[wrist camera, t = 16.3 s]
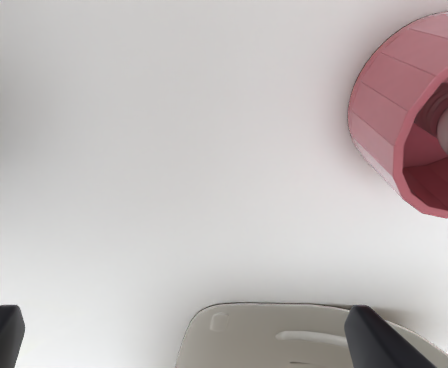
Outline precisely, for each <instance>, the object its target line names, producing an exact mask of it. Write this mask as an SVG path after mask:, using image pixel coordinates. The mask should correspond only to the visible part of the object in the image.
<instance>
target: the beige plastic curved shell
mask: <svg viewBox="0 0 448 368" xmlns="http://www.w3.org/2000/svg"><path fill="white" fill-rule="evenodd" d="M349 312H350V310H347V309H342V308H336V307H329V306H321V305H313V304H254V303H236V304H221V305H215V306H211V307H208V308H206V309H204V310H202V311H200V312H199V313H198V314H197V315H196V316H195V317H194V318H193V319H192V321H191V323H190V325H189V327H188V329H187V331H186V334H185V336H184V339H183V342H182V344H181V348H180V351H179V354H178V358H177V361H176V366H175V368H354V367H353V363H352V359H351V355H350V351H349V347H348V344H347V340H346V336H345V331H344V323H345V320H346V318H347V316H348V314H349ZM385 321H386V322H387V323H388V324H389V325H390V326H391V327H392V328H394V329H395V330H396V331H397V332H398V333H399V334H400V335H401V336H402V337H404V338H405V339H406V340H407V341H408V342H409V343H410V344H411V345H413V346H414V347H415V348H416V349H417V350H418V351H419V352H420V353H421V354H423V355H424V356H425V357H426V358H427V359H428V360H429V361H430V362H431V363H433V364H434V365H435V366H436V367H437V368H448V355H447V354H446V353H445V352H443V351H442V350H441V349H439V348H438V347H437V346H435V345H434V344H432V343H431V342H429V341H428V340H426V339H425V338H423V337H422V336H420V335H418V334H417V333H415V332H413V331H411V330H409V329H406V328H404V327H402V326H400V325H397V324H394V323H392V322H389V321H387V320H385Z"/></svg>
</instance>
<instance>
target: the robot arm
mask: <svg viewBox="0 0 448 368" xmlns="http://www.w3.org/2000/svg"><path fill="white" fill-rule="evenodd" d="M344 331H345V336H346V340H347V344H348V347H349V351H350V355H351V359H352V363H353V367H354V368H437V367H436V366H435V365H434V364H433V363H431V362H430V361H429V360H428V359H427V358H426V357H425V356H424V355H423V354H421V353H420V352H419V351H418V350H417V349H416V348H415V347H414V346H413V345H411V344H410V343H409V342H408V341H407V340H406V339H405V338H404V337H402V336H401V335H400V334H399V333H398V332H397V331H396V330H395V329H394V328H392V327H391V326H390V325H389V324H388V323H387V322H386V321H385V320H384V319H382V318H381V317H380V316H379V315H378V314H377V313H376V312H375V311H373V310H372V309H371V308H370V307H369V306H366V305H354V306H352V308H351V310H350V312H349V314H348V316H347V318H346V320H345V323H344ZM24 332H25V324H24V321H23V317H22V314H21V310H20V308H19V306H17V305H1V306H0V368H14V367H15V363H16V360H17V357H18V353H19V350H20V347H21V343H22V340H23V337H24Z"/></svg>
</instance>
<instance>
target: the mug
mask: <svg viewBox="0 0 448 368" xmlns="http://www.w3.org/2000/svg"><path fill="white" fill-rule="evenodd" d="M441 83H448V11H447V12H441V13H436V14H432V15H429V16H426V17H423V18H421V19H419V20H416V21H414V22H412V23H410V24H409V25H407V26H405V27H403V28H402V29H400V30H399V31H398V32H396V33H395V34H393V35H392V36H391V37H390V38H389V39H387V40H386V41H385V42H384V43H383V44H382V45H381V46H380V47H379V48H378V49H377V50H376V51H375V53H374V54H373V55H372V56H371V57H370V59H369V60H368V61H367V63H366V64H365V66H364V67H363V69H362V71H361V72H360V74H359V76H358V78H357V80H356V83H355V85H354V87H353V90H352V93H351V97H350V101H349V106H348V127H349V131H350V135H351V138H352V140H353V143H354V144H355V146H356V148H357V149H358V150H359V152H360V153H361V155H362V156H363V158H364V159H365V160H366V161H367V162H368V163H369V164H370V165H371V166H372V167H373V168H374V169H375V170H376V171H377V172H378V173H379V174H380V176H381V177H382V178H383V179H384V180H385V181H386V182H387V183H388V184H389V185H390V186H391V187H392V188H393V189H394V190H395V191H396V192H397V193H398V195H399V196H400V197H401V198H402V199H403V200H405V201H406V202H407V203H409V204H410V205H411V206H413V207H414V208H415V209H417V210H418V211H419V212H421V213H423V214H428V215H432V216H437V217H442V218H447V219H448V155H447V154H446V153H445V152H444V150H443V149H442V148H441V146H440V144H439V142H438V139H437V138H435V137H434V136H432V135H431V134H429V133H428V132H427V131H425V130H423V129H422V128H420V127H419V126H417V125H416V124H415V123H414V120H415V117H416V115H417V113H418V112H419V111H420V110H421V108H422V107H423V106H424V105H425V103H426V102H427V101H428V99H429V98H430V97H431V96H432V94H433V93H434V92H435V91H436V89H437V88H438V87H439V86H440V84H441Z"/></svg>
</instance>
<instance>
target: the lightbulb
mask: <svg viewBox="0 0 448 368" xmlns="http://www.w3.org/2000/svg"><path fill="white" fill-rule="evenodd" d="M414 123H415V124H416V125H417V126H419V127H420V128H422V129H423V130H425V131H427V132H428V133H429V134H431V135H432V136H434V137H435V138H437V139H438V142H439V144H440V146H441V148H442V149H443V150H444V152H445V153H446V154H447V155H448V83H441V84H440V86H439V87H438V88H437V89H436V91H435V92H434V93H433V94H432V96H431V97H430V98H429V99H428V101H427V102H426V103H425V105H424V106H423V107H422V108H421V110H420V111H419V112H418V113H417V115H416V117H415V120H414Z"/></svg>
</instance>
